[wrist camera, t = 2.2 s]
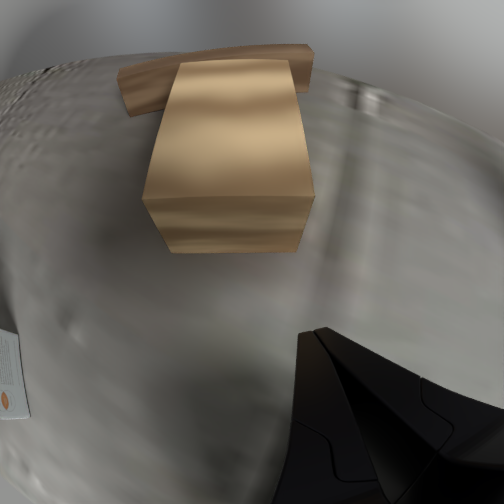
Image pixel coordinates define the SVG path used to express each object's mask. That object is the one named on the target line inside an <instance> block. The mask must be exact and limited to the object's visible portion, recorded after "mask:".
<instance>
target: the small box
mask: <svg viewBox="0 0 504 504" xmlns="http://www.w3.org/2000/svg"><path fill="white" fill-rule="evenodd" d="M29 417H30V413H29V409H28V404H27V399H26V394H25V388H24V382H23V375H22V368H21V361H20V351H19V340H18V335H17V334H14V333H11V332H9V331H6V330H3V329H0V419H23V418H29Z"/></svg>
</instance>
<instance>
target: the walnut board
mask: <svg viewBox="0 0 504 504" xmlns="http://www.w3.org/2000/svg"><path fill="white" fill-rule="evenodd" d="M313 58H314V52H313V51H312V49H311V48H310V47H309V46H308V45H307V44H270V45H251V46H238V47H228V48H219V49H211V50H204V51H197V52H191V53H185V54H179V55H174V56H169V57H164V58H160V59H155V60H151V61H147V62H143V63H139V64H135V65H131V66H128V67H124V68H121V69H119V72H118V76H117V82H118V85H119V88H120V91H121V94H122V96H123V99H124V102H125V105H126V107H127V110H128V113H129V116H130V117H133V116H137V115H141V114H145V113H149V112H154V111H158V110H163V109H165V108H166V105H167V102H168V99H169V96H170V93H171V90H172V87H173V84H174V81H175V78H176V75H177V72H178V70H179V67H180V64H181V63H187V62H198V61H212V60H233V59H271V60H288V62H289V66H290V70H291V75H292V79H293V83H294V88H295V92H296V93H298V92H308V89H309V83H310V77H311V71H312V65H313Z"/></svg>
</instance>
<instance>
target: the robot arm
mask: <svg viewBox="0 0 504 504" xmlns="http://www.w3.org/2000/svg"><path fill="white" fill-rule="evenodd" d="M270 504H504V409H501V408H498V407H495V406H492V405H489V404H486V403H483V402H480V401H477V400H474V399H472V398H469V397H466V396H463V395H461V394H458V393H456V392H453V391H451V390H448V389H446V388H444V387H442V386H439V385H437V384H435V383H433V382H431V381H429V380H427V379H425V378H423V377H422V378H421V377H420V376H419V375H417V374H415V373H413V372H411V371H409V370H407V369H405V368H403V367H401V366H399V365H398V364H396V363H394V362H392V361H390V360H388V359H386V358H384V357H382V356H380V355H378V354H376V353H375V352H373V351H371V350H369V349H367V348H365V347H363V346H361V345H360V344H358V343H356V342H354V341H352V340H350V339H348V338H346V337H345V336H343V335H341V334H339V333H337V332H335V331H334V330H332V329H330V328H328V327H323V328H319V329H315V330H314V331H306V332H302V333H299V334H298V341H297V356H296V370H295V382H294V394H293V405H292V415H291V423H290V433H289V440H288V446H287V452H286V455H285V459H284V463H283V467H282V470H281V473H280V476H279V479H278V482H277V485H276V488H275V491H274V494H273V497H272V500H271V502H270Z"/></svg>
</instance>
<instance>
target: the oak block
mask: <svg viewBox="0 0 504 504" xmlns="http://www.w3.org/2000/svg"><path fill="white" fill-rule="evenodd" d="M314 198H315V193H314V187H313V181H312V175H311V169H310V163H309V157H308V152H307V146H306V141H305V135H304V130H303V125H302V120H301V115H300V111H299V106H298V101H297V97H296V92H295V88H294V83H293V79H292V75H291V70H290V66H289V62H288V60H271V59H233V60H212V61H198V62H187V63H181V64H180V67H179V70H178V72H177V75H176V78H175V81H174V84H173V87H172V90H171V93H170V96H169V99H168V102H167V105H166V108H165V111H164V114H163V118H162V121H161V125H160V128H159V131H158V135H157V139H156V142H155V146H154V150H153V153H152V157H151V161H150V165H149V169H148V174H147V178H146V182H145V187H144V191H143V196H142V201H143V203H144V205H145V207H146V208H147V210H148V212H149V214H150V216H151V218H152V219H153V221H154V223H155V225H156V227H157V228H158V230H159V232H160V234H161V236H162V237H163V239H164V241H165V243H166V244H167V246H168V248H169V250H170V251H171V253H263V252H296V251H297V248H298V245H299V242H300V239H301V237H302V234H303V231H304V228H305V225H306V222H307V219H308V216H309V213H310V210H311V207H312V204H313V201H314Z"/></svg>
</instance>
